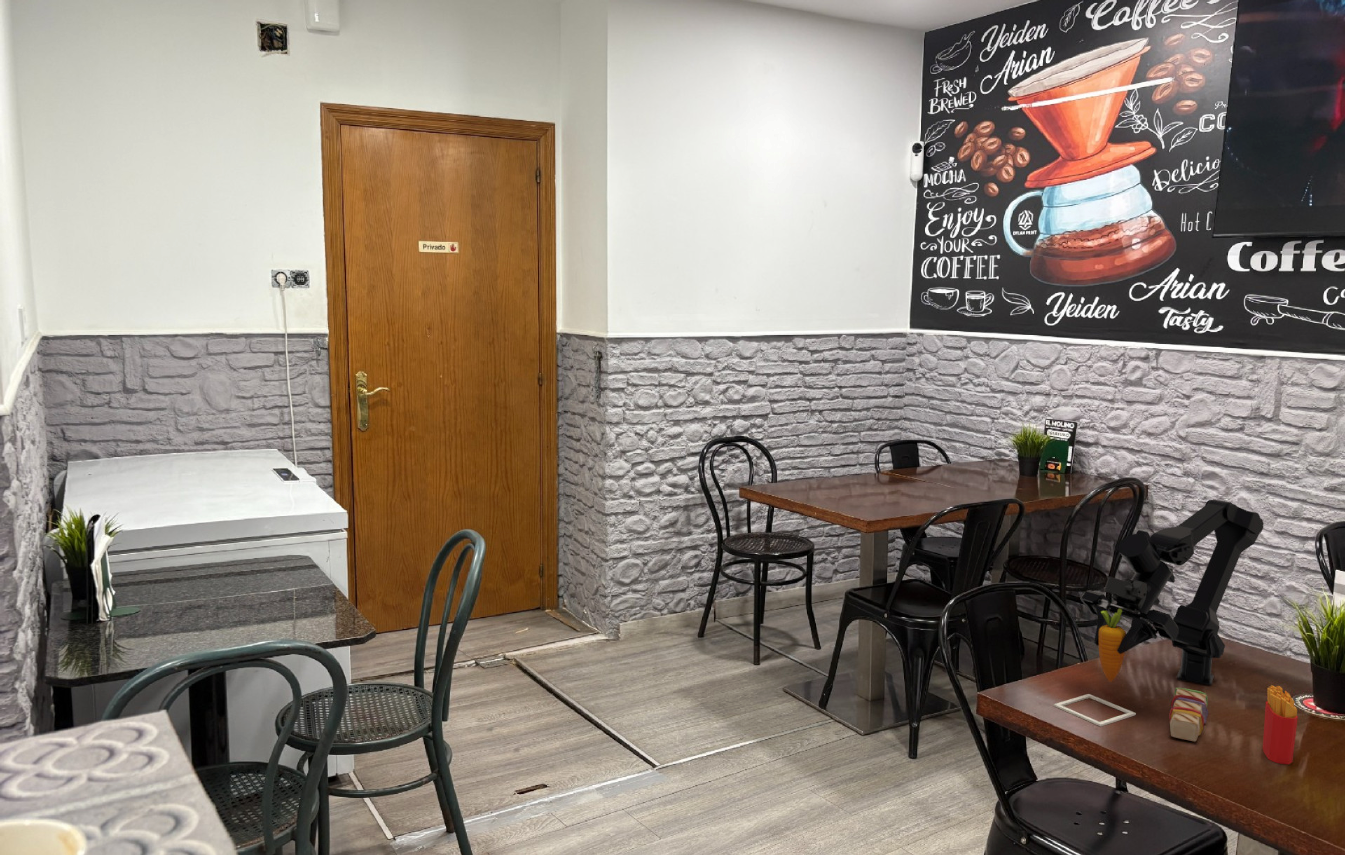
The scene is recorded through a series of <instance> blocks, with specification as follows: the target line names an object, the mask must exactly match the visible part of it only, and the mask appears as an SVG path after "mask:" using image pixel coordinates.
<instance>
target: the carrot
mask: <svg viewBox="0 0 1345 855" xmlns="http://www.w3.org/2000/svg"><path fill="white" fill-rule="evenodd" d="M1121 613H1122V609H1120V608H1119V609H1118V611H1117V613H1115V614H1114V615H1113V617H1112V616H1111V617H1109V614H1108V612H1107V611H1102V612H1101V614H1102V615H1103V617H1104V618H1105V620H1106V622H1107V624H1108V625H1105V626H1102V627H1101V628H1100V629H1099V645H1098V655H1099V661H1100V666H1101V669H1102V671H1103V673H1104V677H1105V678H1106V679H1107V681H1108V682H1109V683H1111V682H1113V681H1114V680H1115V679H1116V678H1117V676H1118V675H1119V672H1120V671H1121V667H1122V665H1123V662H1124V657H1125V653H1126V652H1124V653H1122V654H1119V653H1118V651H1117V650H1118V648H1119V645H1120V644H1121V642H1122V640H1123V639H1124V637H1125V636H1126V634H1127V633H1126V631H1125V629H1123V627H1121V626H1119V625H1118V624H1119V622H1120V621H1121V620H1122V618H1121V617H1122V616H1121ZM1110 619H1111V621H1110Z"/></svg>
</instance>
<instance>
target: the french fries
mask: <svg viewBox="0 0 1345 855" xmlns="http://www.w3.org/2000/svg"><path fill="white" fill-rule="evenodd" d="M1266 693H1267V701H1265V709H1264V710H1265V711H1264V722H1263V724H1264V725H1263V738H1262V740H1263V741H1262V751H1263V753H1264V755H1265V757H1266V758H1267V759H1268V760H1269V761H1271V762H1273V763H1276V764H1281V765H1290V764H1292V763H1293V760H1294V759H1293V758H1294V752H1295V744H1296V736H1297V734H1296V733H1297V727H1298V720H1299V716H1298V709H1297V707H1296V706H1295V700H1294V699H1293V698H1292V696H1291V693H1289V692H1288V691H1286V690H1284V692H1283V687H1281V686H1280V685H1276V686H1274V685H1272V684H1270V686H1268V687H1267V692H1266Z"/></svg>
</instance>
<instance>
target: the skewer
mask: <svg viewBox="0 0 1345 855" xmlns="http://www.w3.org/2000/svg"><path fill="white" fill-rule="evenodd" d="M1208 699H1209V698H1208V695H1207V693H1206V692H1203V691H1199V690H1194V689H1191V688H1185V687H1175V689H1174V696H1173V698H1172V700H1171V703H1170V707H1171V708H1170V710H1169V714H1168V718H1169V730H1170V736H1171V737H1173V738H1175V739H1176V738H1177V739H1179V740H1180V739H1181V740H1186V741H1191V742H1197V740H1198V737H1199V736H1201V734H1202V732H1203V730H1204V727H1205V724H1206V723H1207V719H1208V716H1209V710H1208V703H1209V700H1208Z"/></svg>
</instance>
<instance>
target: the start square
mask: <svg viewBox="0 0 1345 855" xmlns="http://www.w3.org/2000/svg"><path fill="white" fill-rule="evenodd" d="M1087 699H1091V700H1094V701H1097V702H1098V703H1100V704H1103V705H1106V706H1108V707H1110V708H1113V709H1115V710H1117V711H1119V712H1120V711H1121V712H1123V713H1124V714H1121V715H1118V716H1114V717H1111V718H1108V719H1106V720H1102V721H1098V720H1096V719H1094V718H1091V717H1089V716H1087V715H1085V714H1082V713H1079V712H1077V711H1075V710H1072V709H1071V708H1068V707H1066V706H1067V705H1070V704H1074V703H1077V702H1080V701H1084V700H1087ZM1053 707H1055V708H1057V709H1060V710H1062V711H1064V712H1067V713H1069V714H1071V715H1073V716H1075V717H1078V718H1080V719H1082V720H1086V721H1087V722H1089V723H1091V724H1093V725H1096V726H1099V727H1104V726H1106V725H1109V724H1112V723H1116V722H1119V721H1121V720H1125V719H1129V718H1130V717H1133V716H1136V714H1137V713H1136V712H1134V711H1132V710H1129V709H1126V708H1125V707H1122V706H1119V705H1117V704H1114V703H1112V702H1110V701H1108V700H1105V699H1103V698H1100V697H1098V696H1095V695H1092V694H1090V693H1087V694H1084V695H1080V696H1077V697H1073V698H1070V699H1068V700H1067V699H1066V700H1062V701H1060V702H1055V703H1054V704H1053Z"/></svg>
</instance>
